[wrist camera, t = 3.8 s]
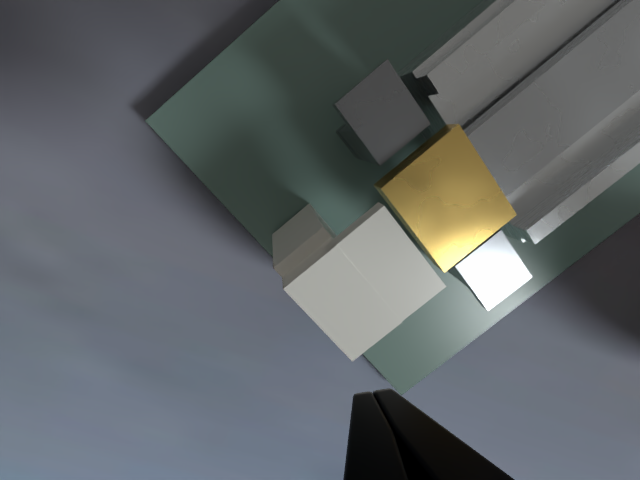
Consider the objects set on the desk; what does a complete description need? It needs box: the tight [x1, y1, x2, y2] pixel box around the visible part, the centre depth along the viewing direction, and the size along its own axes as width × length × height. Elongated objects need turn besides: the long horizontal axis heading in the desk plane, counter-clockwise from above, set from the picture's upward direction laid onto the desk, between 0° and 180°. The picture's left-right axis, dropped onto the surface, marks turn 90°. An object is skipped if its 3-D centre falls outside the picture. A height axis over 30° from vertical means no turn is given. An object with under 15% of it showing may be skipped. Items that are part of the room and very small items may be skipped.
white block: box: [272, 202, 446, 361], centre depth 16 cm, size 5×4×6 cm
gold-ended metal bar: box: [374, 0, 640, 273], centre depth 15 cm, size 4×18×2 cm, turn 129°
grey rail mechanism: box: [332, 0, 640, 311], centre depth 16 cm, size 11×18×6 cm, turn 129°
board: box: [145, 0, 640, 395], centre depth 19 cm, size 20×26×1 cm
